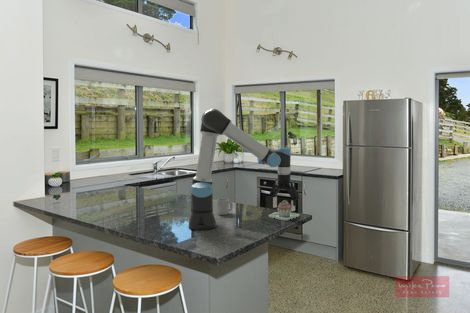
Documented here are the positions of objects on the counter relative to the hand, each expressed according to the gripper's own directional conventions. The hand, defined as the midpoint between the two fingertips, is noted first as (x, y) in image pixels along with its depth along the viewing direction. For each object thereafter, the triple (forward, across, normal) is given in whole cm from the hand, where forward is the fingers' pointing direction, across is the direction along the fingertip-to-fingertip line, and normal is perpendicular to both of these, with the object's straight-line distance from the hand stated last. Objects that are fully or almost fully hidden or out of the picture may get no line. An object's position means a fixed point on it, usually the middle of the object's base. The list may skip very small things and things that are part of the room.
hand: (283, 209), depth 233 cm
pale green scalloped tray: (+5, 0, 0) cm, 5 cm away
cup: (+5, +33, +17) cm, 37 cm away
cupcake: (+4, 0, 0) cm, 5 cm away
